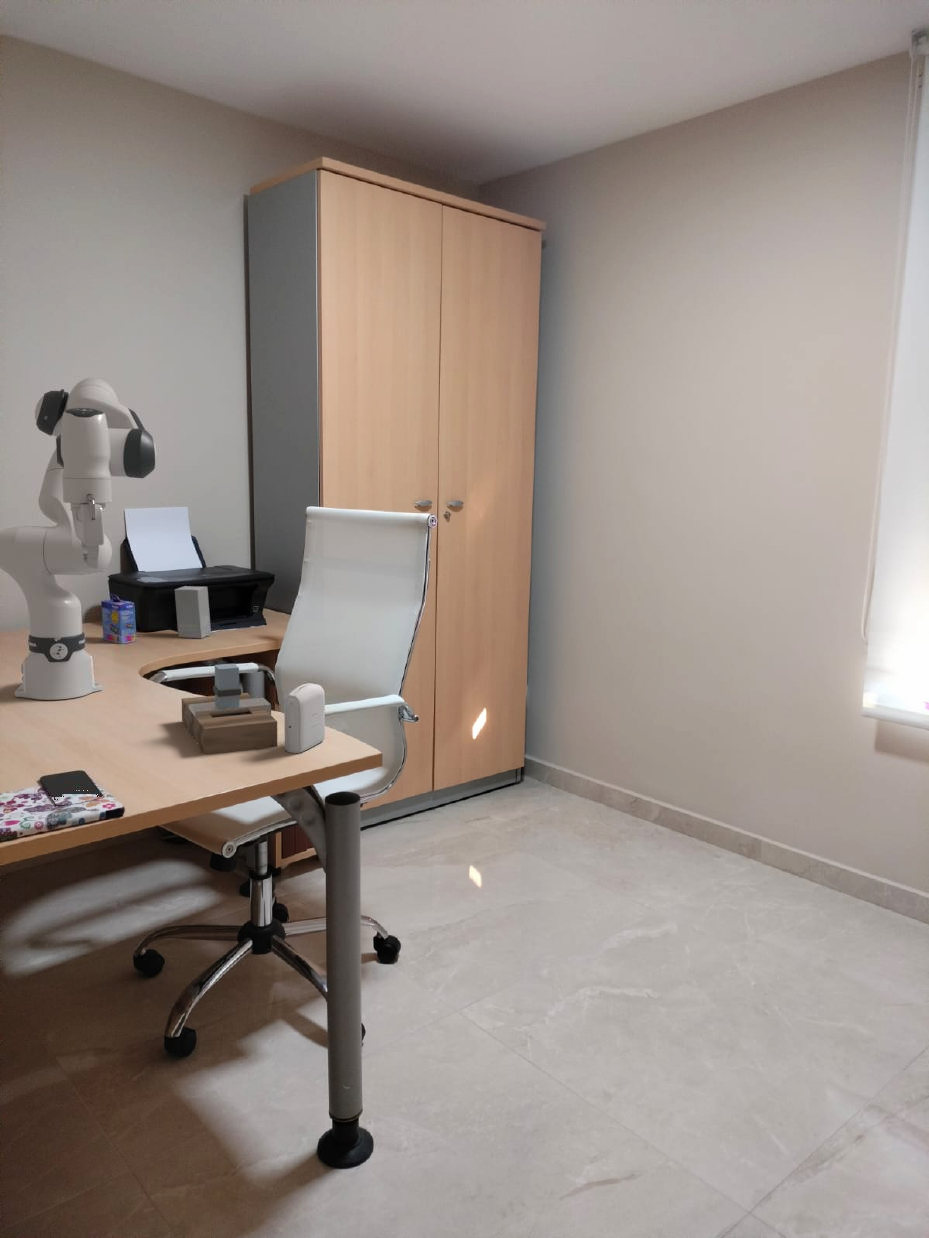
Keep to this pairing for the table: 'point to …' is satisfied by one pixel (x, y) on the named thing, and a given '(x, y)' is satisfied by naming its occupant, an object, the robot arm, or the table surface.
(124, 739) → the table surface
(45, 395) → the robot arm
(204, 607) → the skincare box
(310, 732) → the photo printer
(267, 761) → the table surface
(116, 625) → the ink cartridge box
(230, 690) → the blue-gray rectangular block
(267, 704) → the white rectangular bar
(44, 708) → the table surface
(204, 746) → the brown tissue box
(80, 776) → the phone
